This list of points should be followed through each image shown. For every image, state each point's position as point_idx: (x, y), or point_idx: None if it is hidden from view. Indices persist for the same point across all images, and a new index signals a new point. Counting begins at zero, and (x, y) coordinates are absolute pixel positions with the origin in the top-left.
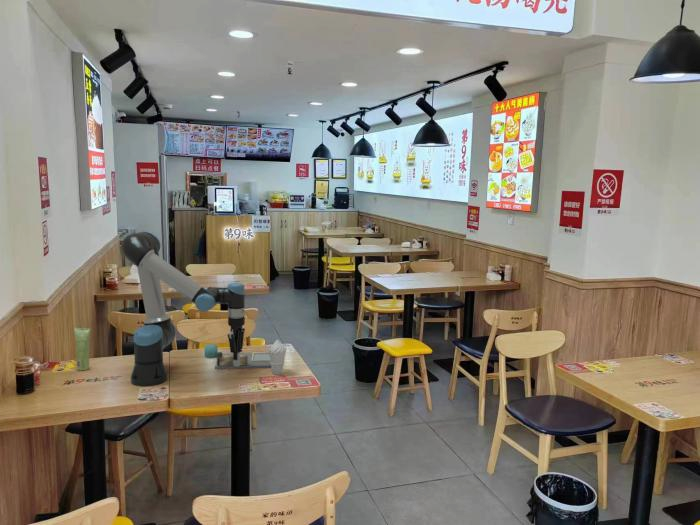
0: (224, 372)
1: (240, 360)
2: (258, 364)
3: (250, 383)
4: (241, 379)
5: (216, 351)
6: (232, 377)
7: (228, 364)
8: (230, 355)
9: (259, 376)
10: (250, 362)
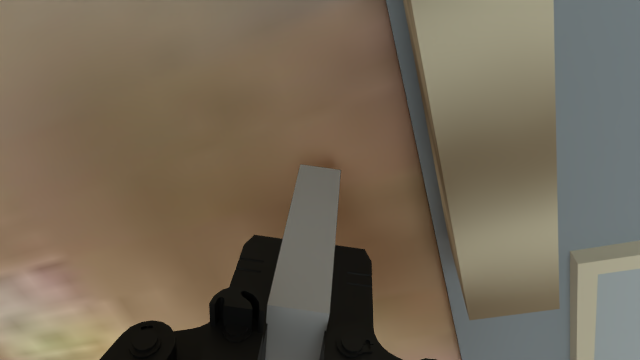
0: (261, 40)
1: (448, 222)
2: None
3: (107, 313)
4: (147, 247)
5: None
6: (156, 170)
7: (414, 54)
8: (543, 95)
9: None
10: (560, 244)
